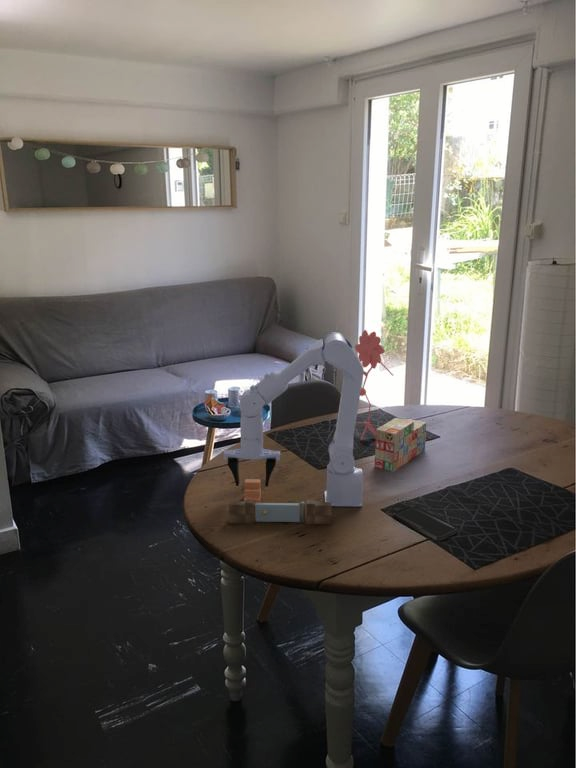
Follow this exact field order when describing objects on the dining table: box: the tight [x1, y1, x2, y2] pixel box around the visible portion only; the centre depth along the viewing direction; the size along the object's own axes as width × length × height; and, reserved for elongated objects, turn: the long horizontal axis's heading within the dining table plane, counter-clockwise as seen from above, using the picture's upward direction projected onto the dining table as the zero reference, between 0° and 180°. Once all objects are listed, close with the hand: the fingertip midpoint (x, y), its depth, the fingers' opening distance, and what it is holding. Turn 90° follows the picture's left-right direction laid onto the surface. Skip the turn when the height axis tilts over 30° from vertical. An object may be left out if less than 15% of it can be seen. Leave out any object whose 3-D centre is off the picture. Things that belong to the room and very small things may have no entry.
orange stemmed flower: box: [354, 329, 394, 441], centre depth 210 cm, size 15×26×35 cm, turn 36°
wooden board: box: [228, 499, 333, 525], centre depth 155 cm, size 25×2×6 cm, turn 89°
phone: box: [393, 505, 459, 542], centre depth 155 cm, size 8×1×15 cm
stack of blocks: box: [374, 417, 427, 473], centre depth 192 cm, size 21×6×12 cm, turn 143°
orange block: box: [243, 478, 262, 506], centre depth 166 cm, size 4×6×5 cm, turn 179°
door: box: [254, 501, 306, 523], centre depth 155 cm, size 12×2×5 cm, turn 89°
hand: (252, 484), depth 166 cm, fingers open, 7 cm apart
